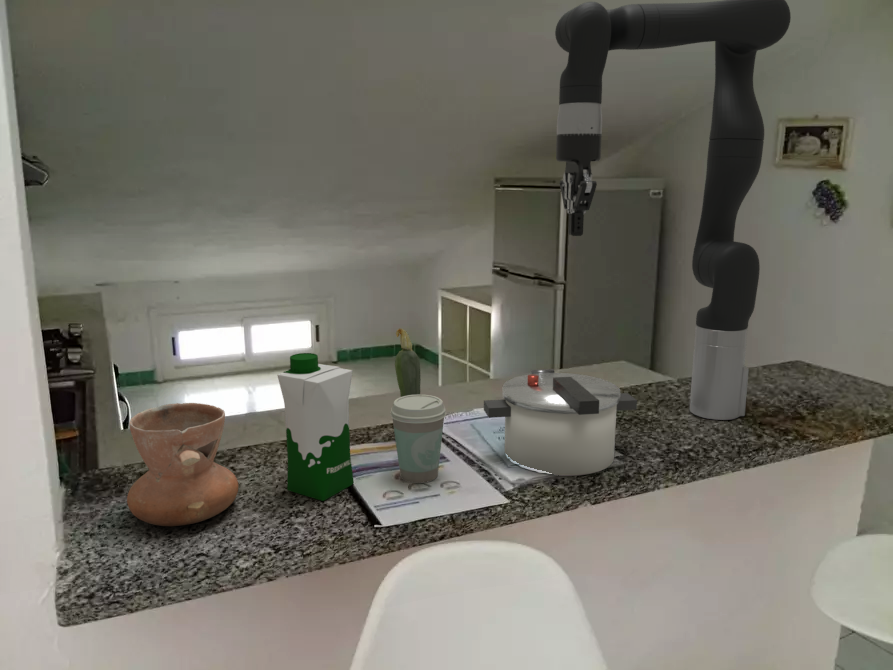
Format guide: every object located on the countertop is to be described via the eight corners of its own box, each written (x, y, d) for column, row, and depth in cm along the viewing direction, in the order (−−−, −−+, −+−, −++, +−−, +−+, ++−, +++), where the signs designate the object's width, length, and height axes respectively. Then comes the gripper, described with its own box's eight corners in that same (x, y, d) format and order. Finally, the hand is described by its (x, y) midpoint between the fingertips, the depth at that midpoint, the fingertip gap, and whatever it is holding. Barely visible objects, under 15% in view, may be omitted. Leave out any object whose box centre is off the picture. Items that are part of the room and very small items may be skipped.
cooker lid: (591, 375, 131) (592, 356, 130) (650, 420, 106) (651, 397, 106) (489, 380, 128) (489, 361, 127) (525, 427, 104) (525, 404, 103)
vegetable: (422, 434, 129) (421, 325, 125) (419, 443, 125) (418, 330, 120) (398, 433, 130) (396, 325, 125) (394, 442, 125) (392, 330, 121)
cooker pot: (609, 430, 131) (612, 377, 128) (651, 470, 113) (655, 409, 111) (475, 438, 127) (475, 384, 125) (497, 480, 110) (498, 418, 107)
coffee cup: (405, 491, 106) (404, 414, 104) (383, 470, 114) (381, 398, 111) (456, 480, 110) (456, 405, 107) (431, 460, 117) (431, 390, 115)
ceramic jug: (253, 525, 96) (246, 423, 93) (136, 551, 89) (125, 442, 87) (224, 479, 112) (218, 390, 109) (122, 498, 105) (113, 404, 102)
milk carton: (318, 470, 114) (312, 348, 109) (363, 483, 109) (359, 355, 105) (278, 491, 106) (270, 360, 102) (324, 506, 102) (318, 369, 97)
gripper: (614, 130, 116) (610, 238, 120) (587, 134, 129) (583, 232, 133) (570, 130, 115) (566, 239, 119) (546, 134, 128) (544, 232, 132)
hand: (575, 235), depth 126 cm, fingers closed
